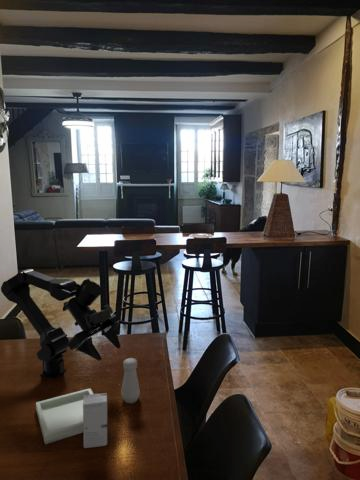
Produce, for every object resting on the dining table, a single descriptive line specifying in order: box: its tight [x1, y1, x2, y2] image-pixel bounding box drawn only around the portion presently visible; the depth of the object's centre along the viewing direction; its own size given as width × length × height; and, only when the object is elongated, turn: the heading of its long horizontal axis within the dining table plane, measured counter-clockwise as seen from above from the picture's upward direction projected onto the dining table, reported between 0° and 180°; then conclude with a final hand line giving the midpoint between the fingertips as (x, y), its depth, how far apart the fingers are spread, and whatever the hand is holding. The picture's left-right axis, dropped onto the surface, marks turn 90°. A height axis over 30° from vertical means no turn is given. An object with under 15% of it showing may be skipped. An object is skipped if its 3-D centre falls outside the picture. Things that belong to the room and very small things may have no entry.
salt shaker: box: [120, 357, 141, 404], centre depth 112 cm, size 6×6×13 cm
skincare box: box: [82, 392, 108, 449], centre depth 94 cm, size 6×4×12 cm
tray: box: [35, 387, 94, 445], centre depth 104 cm, size 16×16×2 cm
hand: (110, 353), depth 114 cm, fingers open, 9 cm apart
